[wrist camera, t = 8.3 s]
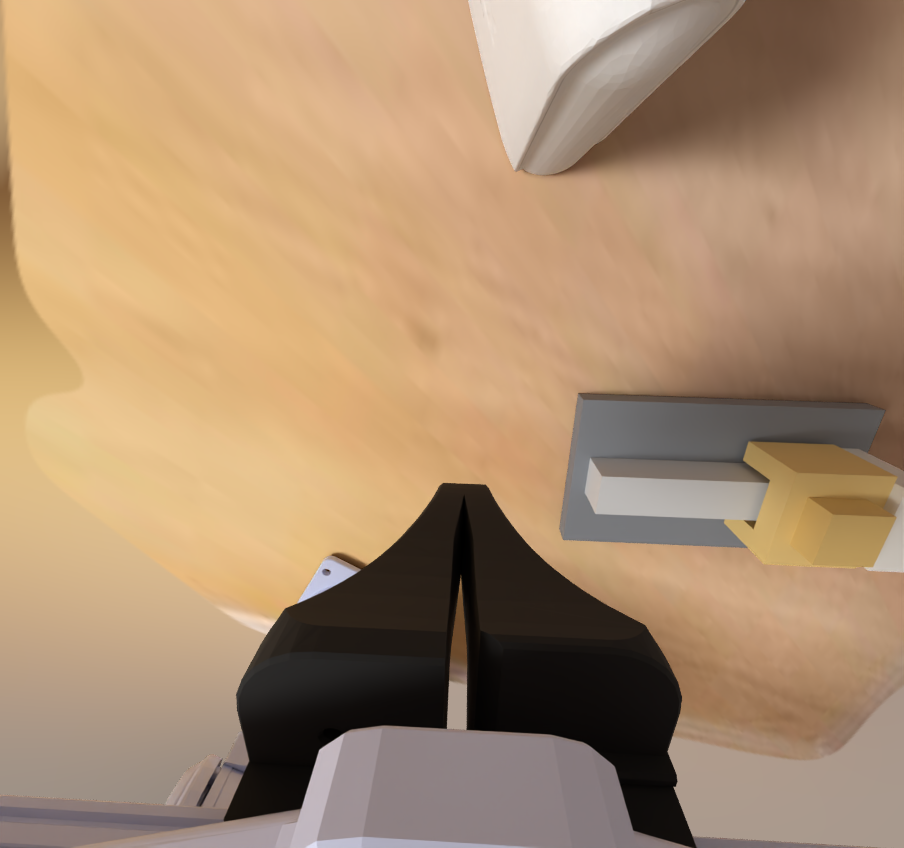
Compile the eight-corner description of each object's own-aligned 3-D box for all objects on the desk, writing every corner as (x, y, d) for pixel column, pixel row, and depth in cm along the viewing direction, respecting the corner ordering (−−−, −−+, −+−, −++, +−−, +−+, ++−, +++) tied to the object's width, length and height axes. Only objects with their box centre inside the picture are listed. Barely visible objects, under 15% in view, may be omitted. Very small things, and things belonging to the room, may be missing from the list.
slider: (723, 522, 22) (784, 585, 18) (748, 441, 20) (821, 488, 16) (802, 526, 22) (882, 589, 18) (834, 444, 20) (930, 493, 16)
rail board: (559, 529, 24) (581, 594, 19) (578, 393, 21) (609, 431, 16) (812, 539, 24) (896, 608, 19) (866, 403, 21) (983, 445, 16)
